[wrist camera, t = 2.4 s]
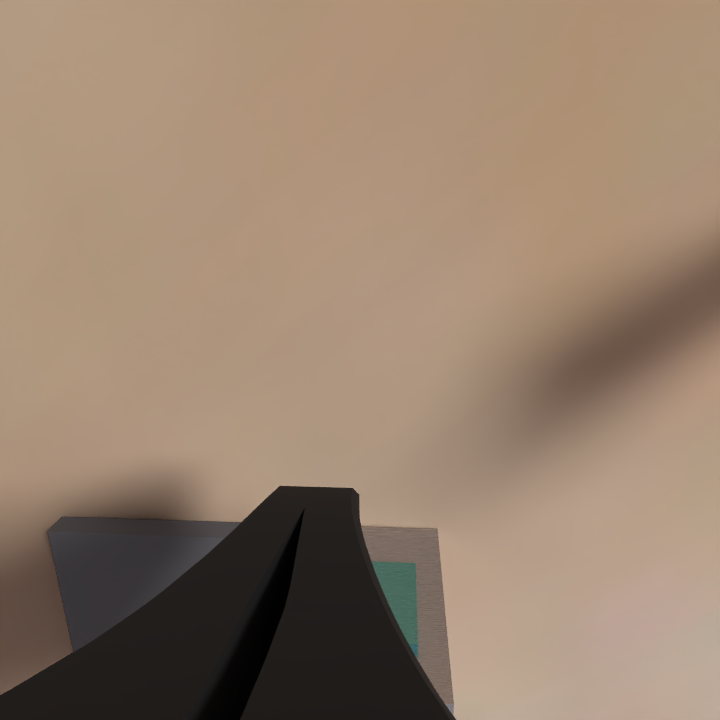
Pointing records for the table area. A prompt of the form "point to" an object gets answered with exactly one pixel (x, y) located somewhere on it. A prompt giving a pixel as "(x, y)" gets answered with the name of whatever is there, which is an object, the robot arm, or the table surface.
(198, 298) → the table surface
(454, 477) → the table surface
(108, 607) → the pad
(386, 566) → the control box
